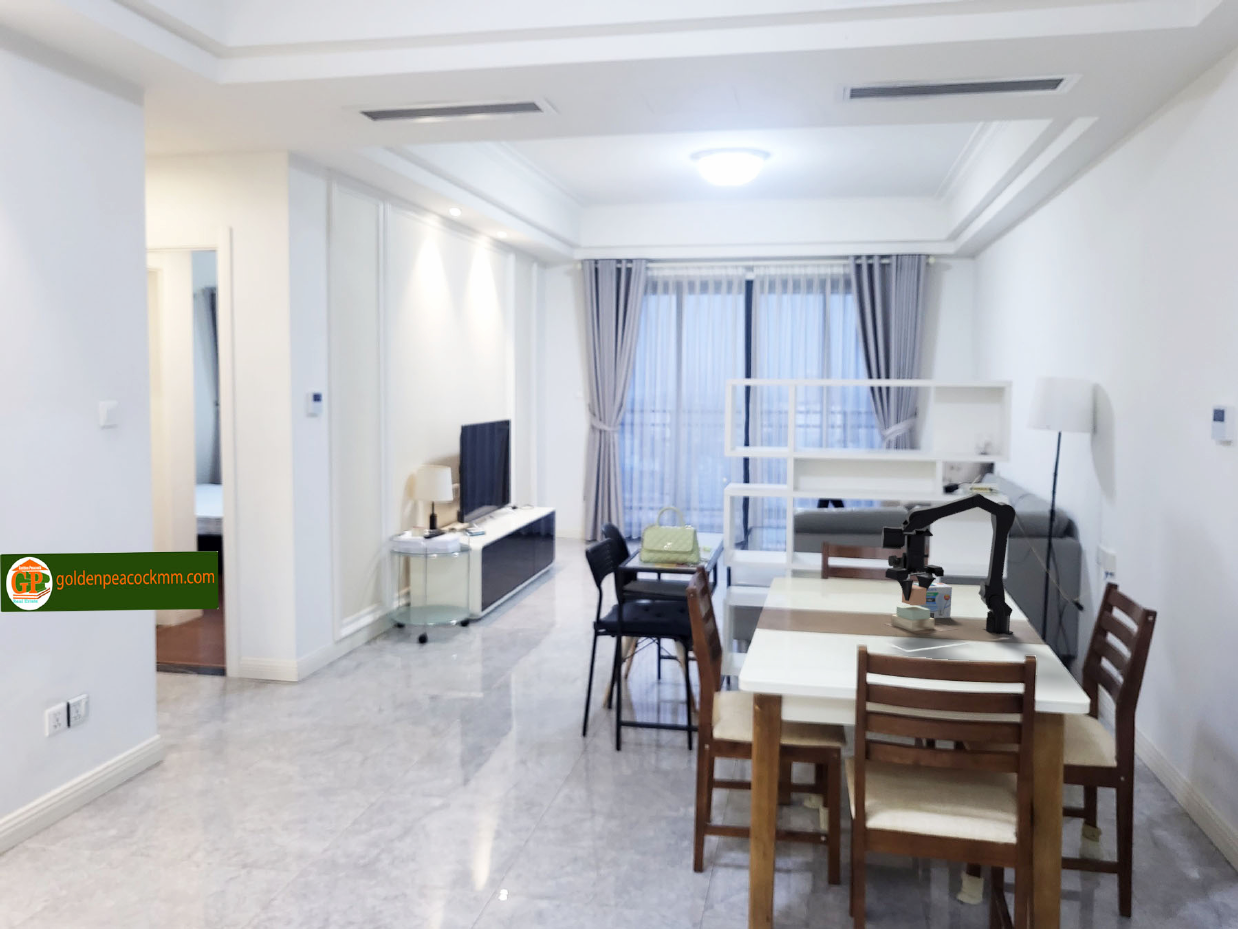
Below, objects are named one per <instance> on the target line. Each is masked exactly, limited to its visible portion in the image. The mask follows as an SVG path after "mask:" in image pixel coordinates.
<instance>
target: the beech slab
mask: <svg viewBox="0 0 1238 929" xmlns="http://www.w3.org/2000/svg"><path fill="white" fill-rule="evenodd" d="M935 619H936V618H929V619H921V620H909V619H906V618H903V617H900V616H897V615H896V614H891V620H890V621H891V622H890V623H891V625H894V626H897V627H900V628H903V629H906V630H909V631H918V630H926V629H934V622H936V621H935Z"/></svg>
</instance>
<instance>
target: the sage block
mask: <svg viewBox="0 0 1238 929" xmlns="http://www.w3.org/2000/svg"><path fill="white" fill-rule="evenodd" d="M895 615H897V616H900V617H903V618H906V619H909V620H921V619H929V618H930V609H927V608H924V607H920V606H917V605H915V606H913V605H909V604H906V605H898V606H897V605H896V613H895Z"/></svg>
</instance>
